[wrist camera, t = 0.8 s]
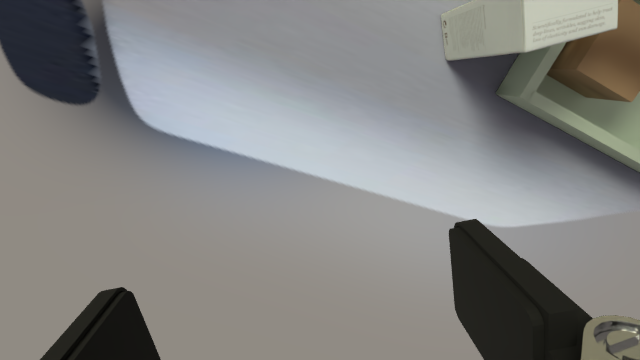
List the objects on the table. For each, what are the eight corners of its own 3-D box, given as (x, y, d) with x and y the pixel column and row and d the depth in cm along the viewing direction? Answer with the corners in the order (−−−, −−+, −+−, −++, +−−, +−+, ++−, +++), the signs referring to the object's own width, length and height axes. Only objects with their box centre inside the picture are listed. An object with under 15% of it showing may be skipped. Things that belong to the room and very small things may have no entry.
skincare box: (444, 62, 33) (521, 60, 22) (438, 11, 32) (516, -20, 21) (509, 46, 33) (621, 35, 22) (506, -6, 32) (622, -47, 20)
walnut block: (576, 5, 32) (624, -5, 27) (626, 37, 33) (681, 32, 28) (536, 69, 33) (576, 69, 29) (585, 97, 34) (631, 102, 30)
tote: (577, -44, 31) (616, -60, 28) (736, 61, 35) (789, 60, 31) (495, 93, 35) (519, 97, 31) (647, 177, 38) (686, 189, 34)
